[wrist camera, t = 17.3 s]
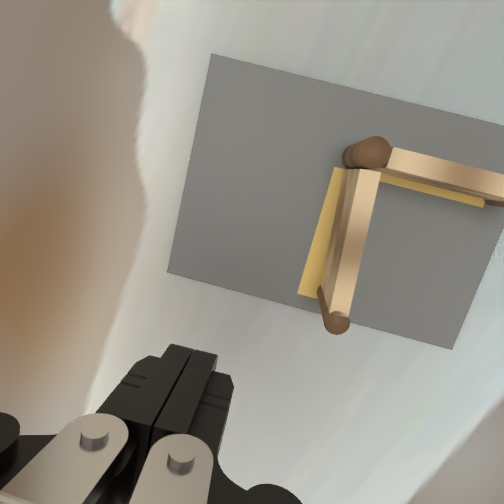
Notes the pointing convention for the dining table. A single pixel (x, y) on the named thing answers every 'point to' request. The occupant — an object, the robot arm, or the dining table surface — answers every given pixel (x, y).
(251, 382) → the dining table surface
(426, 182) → the fence fixed
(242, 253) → the card
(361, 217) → the fence panel hinged
